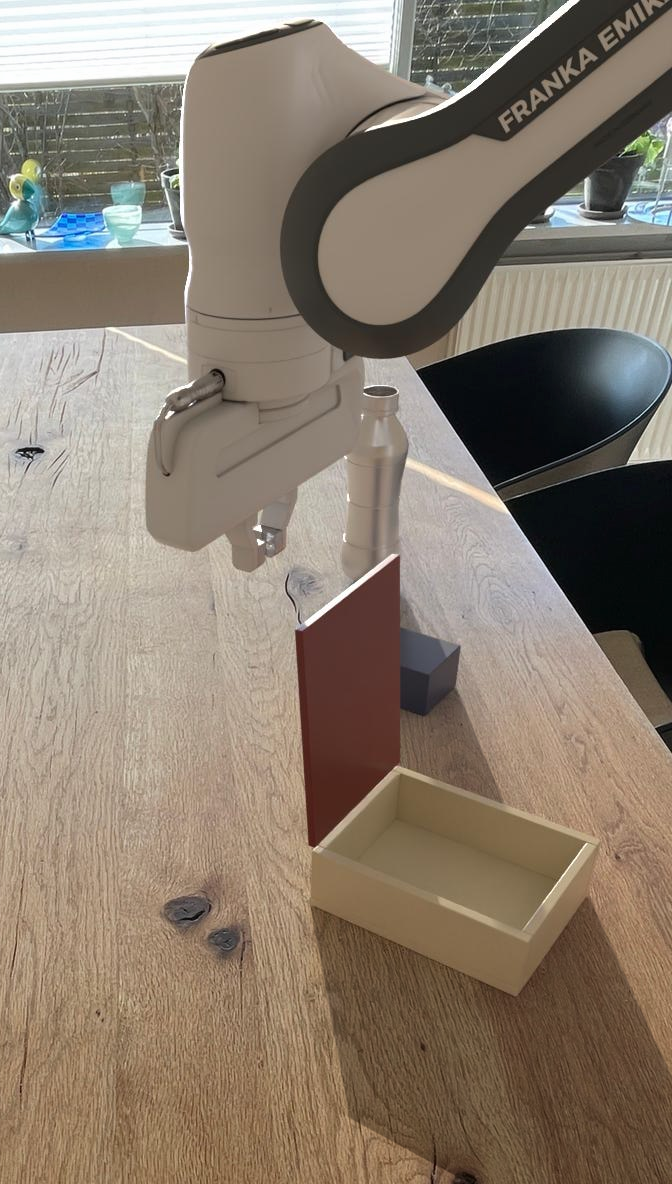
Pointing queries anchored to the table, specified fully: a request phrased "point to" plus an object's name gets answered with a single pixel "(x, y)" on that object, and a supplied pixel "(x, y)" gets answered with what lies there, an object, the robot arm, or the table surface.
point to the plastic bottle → (374, 484)
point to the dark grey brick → (426, 670)
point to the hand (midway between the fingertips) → (259, 559)
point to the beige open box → (454, 876)
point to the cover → (350, 696)
